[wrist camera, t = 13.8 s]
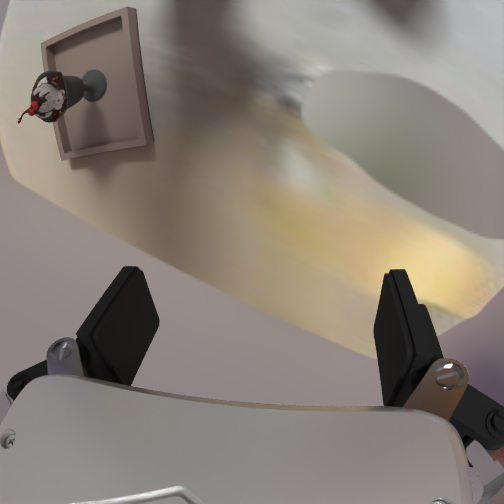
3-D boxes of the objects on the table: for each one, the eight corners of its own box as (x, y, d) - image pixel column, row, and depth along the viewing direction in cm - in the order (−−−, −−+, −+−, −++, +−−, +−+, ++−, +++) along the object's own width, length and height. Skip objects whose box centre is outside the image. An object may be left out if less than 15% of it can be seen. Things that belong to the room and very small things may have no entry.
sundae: (80, 111, 40) (10, 139, 28) (73, 70, 36) (0, 87, 24) (115, 102, 39) (45, 127, 26) (108, 58, 35) (35, 68, 23)
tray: (51, 42, 34) (40, 43, 32) (136, 8, 32) (127, 6, 30) (70, 155, 45) (61, 160, 43) (154, 140, 42) (146, 145, 40)
